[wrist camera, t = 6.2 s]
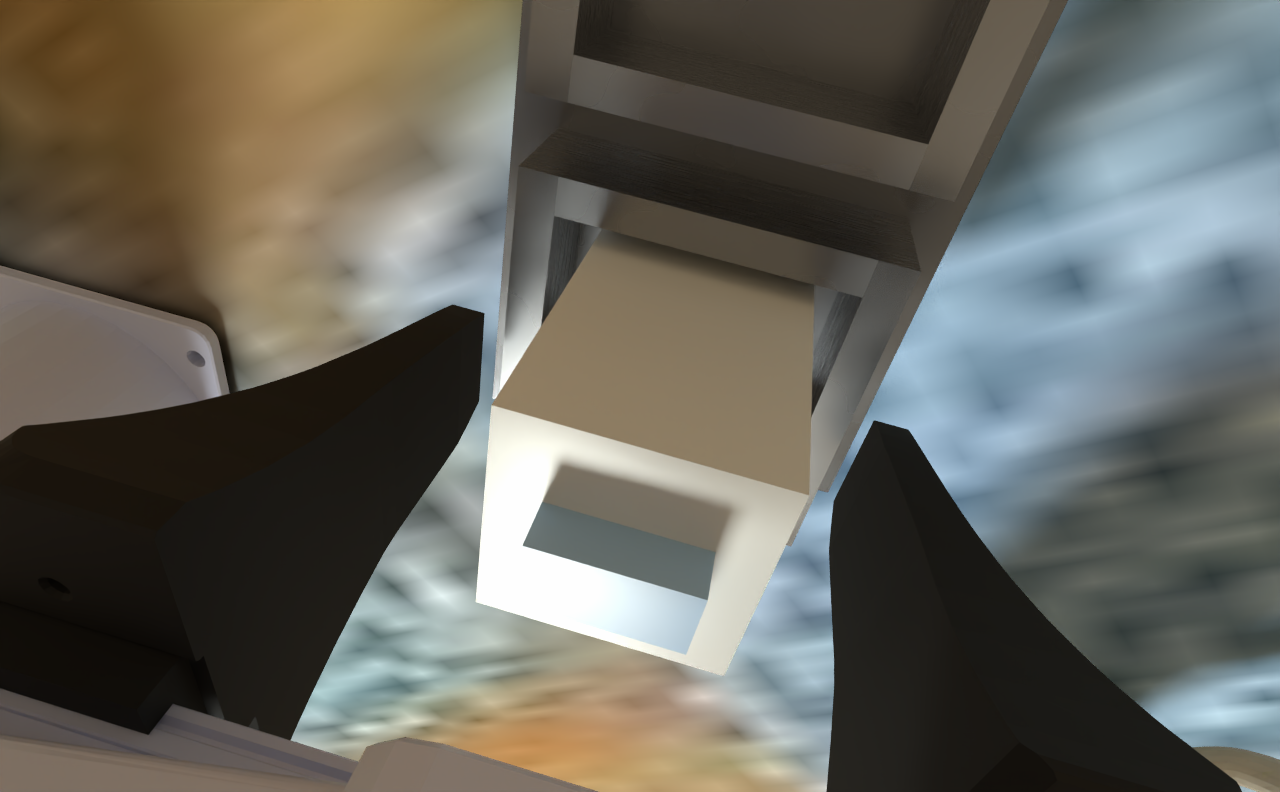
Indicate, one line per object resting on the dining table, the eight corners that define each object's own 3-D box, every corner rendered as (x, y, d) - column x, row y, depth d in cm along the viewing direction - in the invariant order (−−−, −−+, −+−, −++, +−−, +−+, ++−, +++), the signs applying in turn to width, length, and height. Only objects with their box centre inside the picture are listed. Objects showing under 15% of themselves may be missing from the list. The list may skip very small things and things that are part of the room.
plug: (757, 408, 17) (717, 725, 10) (591, 361, 17) (455, 645, 11) (815, 253, 14) (808, 544, 8) (620, 200, 14) (465, 446, 8)
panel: (827, 478, 18) (827, 563, 16) (499, 387, 18) (455, 457, 16) (1248, -398, 9) (1391, -490, 7) (576, -537, 9) (498, -667, 7)
